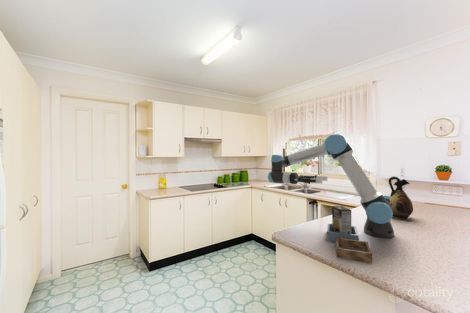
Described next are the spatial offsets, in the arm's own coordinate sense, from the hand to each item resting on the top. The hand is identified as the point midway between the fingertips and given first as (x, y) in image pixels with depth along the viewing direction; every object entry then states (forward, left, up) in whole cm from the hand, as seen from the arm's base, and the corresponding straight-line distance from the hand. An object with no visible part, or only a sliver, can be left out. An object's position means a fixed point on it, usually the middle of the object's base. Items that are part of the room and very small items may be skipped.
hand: (324, 179), depth 130 cm
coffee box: (-9, +6, -31) cm, 33 cm away
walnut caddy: (-13, +24, -32) cm, 42 cm away
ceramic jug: (-48, -53, -32) cm, 78 cm away
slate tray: (-9, +5, -32) cm, 34 cm away
